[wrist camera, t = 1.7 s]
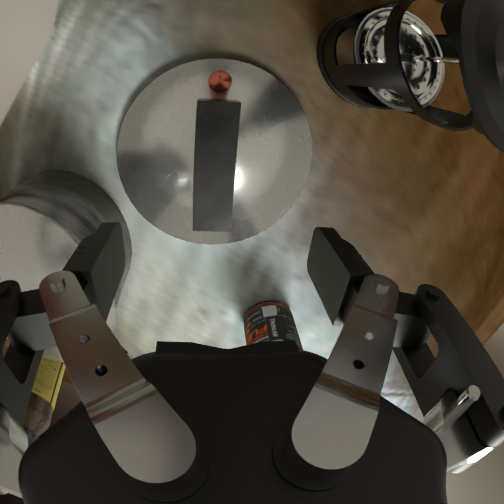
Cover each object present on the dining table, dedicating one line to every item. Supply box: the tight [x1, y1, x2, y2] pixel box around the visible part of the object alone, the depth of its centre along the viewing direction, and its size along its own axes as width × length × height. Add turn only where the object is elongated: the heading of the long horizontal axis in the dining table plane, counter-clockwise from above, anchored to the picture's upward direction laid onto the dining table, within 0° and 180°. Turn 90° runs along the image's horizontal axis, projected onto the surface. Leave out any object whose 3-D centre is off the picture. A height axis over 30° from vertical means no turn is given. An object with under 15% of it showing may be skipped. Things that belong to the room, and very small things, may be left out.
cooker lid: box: [117, 59, 312, 244], centre depth 23 cm, size 17×17×5 cm
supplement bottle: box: [244, 301, 303, 350], centre depth 31 cm, size 6×6×11 cm
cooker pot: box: [0, 170, 132, 362], centre depth 23 cm, size 22×17×9 cm
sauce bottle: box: [23, 357, 66, 447], centre depth 26 cm, size 6×6×20 cm
